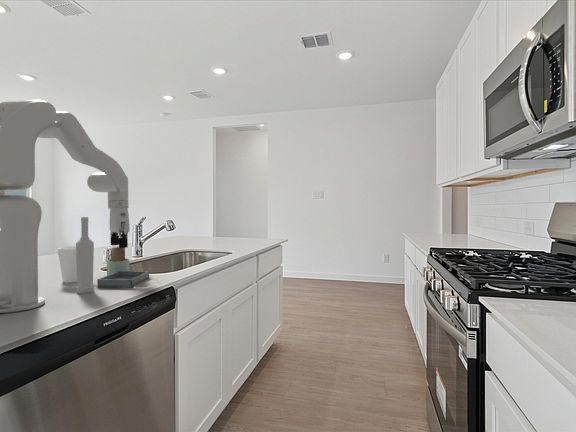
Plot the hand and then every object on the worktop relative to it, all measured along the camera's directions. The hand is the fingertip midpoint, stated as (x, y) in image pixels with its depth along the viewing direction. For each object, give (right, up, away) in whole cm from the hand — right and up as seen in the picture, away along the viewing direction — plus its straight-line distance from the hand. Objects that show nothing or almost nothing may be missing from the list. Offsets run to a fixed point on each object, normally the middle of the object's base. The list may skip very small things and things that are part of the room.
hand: (119, 246), depth 139 cm
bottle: (+2, -13, -26) cm, 29 cm away
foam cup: (-11, -13, -12) cm, 21 cm away
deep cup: (0, -12, 0) cm, 12 cm away
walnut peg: (0, -12, 0) cm, 12 cm away
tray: (+9, -13, -13) cm, 20 cm away
